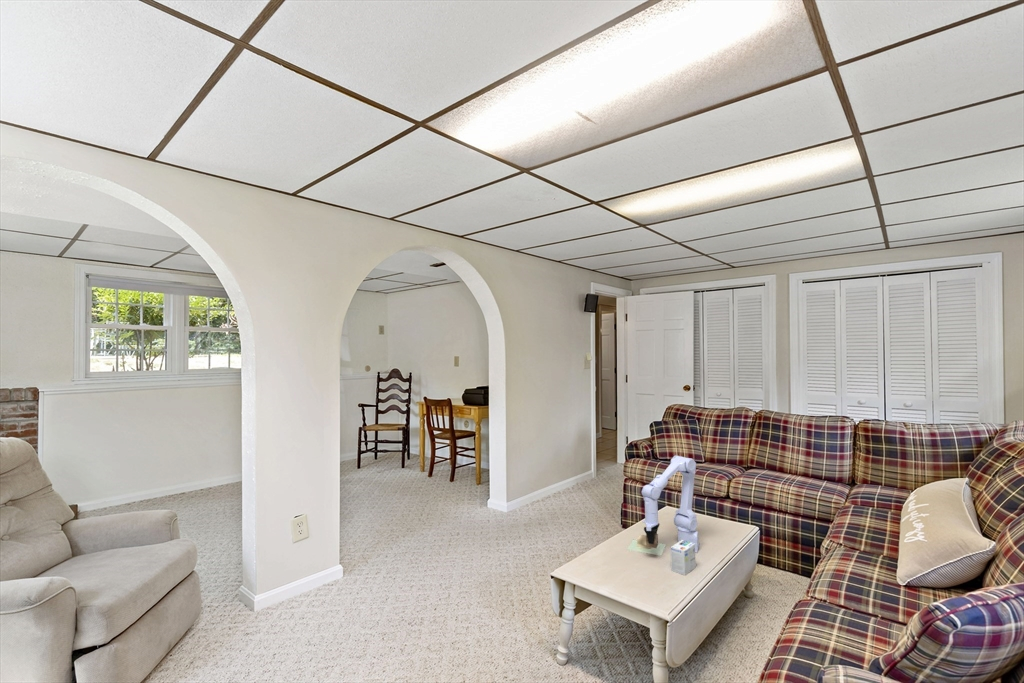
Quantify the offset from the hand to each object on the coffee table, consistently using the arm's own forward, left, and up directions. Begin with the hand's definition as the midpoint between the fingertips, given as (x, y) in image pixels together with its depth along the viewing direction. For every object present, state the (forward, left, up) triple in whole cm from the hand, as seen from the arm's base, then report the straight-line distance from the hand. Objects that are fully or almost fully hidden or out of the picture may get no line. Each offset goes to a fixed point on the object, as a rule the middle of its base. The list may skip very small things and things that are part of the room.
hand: (652, 541), depth 219 cm
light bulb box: (-14, +4, -9) cm, 17 cm away
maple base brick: (+6, -12, -7) cm, 15 cm away
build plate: (+5, -11, -8) cm, 15 cm away
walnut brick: (0, 0, -2) cm, 2 cm away
